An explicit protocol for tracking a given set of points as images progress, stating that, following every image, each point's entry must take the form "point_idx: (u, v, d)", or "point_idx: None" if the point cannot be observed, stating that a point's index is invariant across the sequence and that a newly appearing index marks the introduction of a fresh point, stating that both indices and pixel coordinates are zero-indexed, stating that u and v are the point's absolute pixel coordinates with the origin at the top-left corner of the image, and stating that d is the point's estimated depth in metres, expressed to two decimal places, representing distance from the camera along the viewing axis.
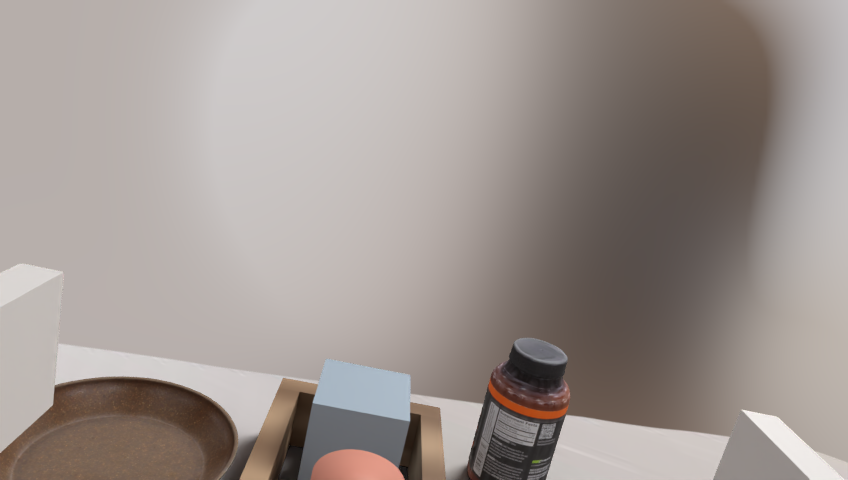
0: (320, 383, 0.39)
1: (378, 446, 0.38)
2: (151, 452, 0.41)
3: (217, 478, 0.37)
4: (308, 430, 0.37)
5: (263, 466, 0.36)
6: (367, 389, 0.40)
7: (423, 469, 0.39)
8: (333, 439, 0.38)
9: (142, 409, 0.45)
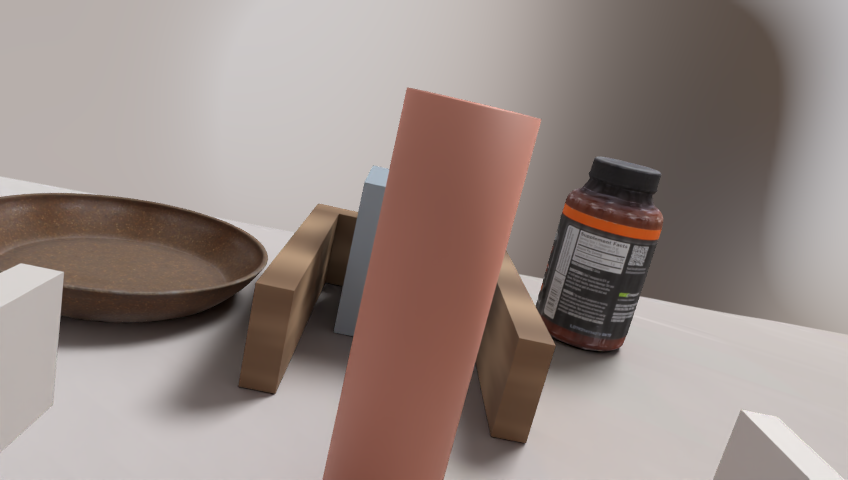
0: (370, 175, 0.32)
1: None
2: (162, 269, 0.34)
3: (245, 277, 0.30)
4: (358, 219, 0.30)
5: (304, 252, 0.29)
6: None
7: None
8: None
9: (151, 235, 0.38)
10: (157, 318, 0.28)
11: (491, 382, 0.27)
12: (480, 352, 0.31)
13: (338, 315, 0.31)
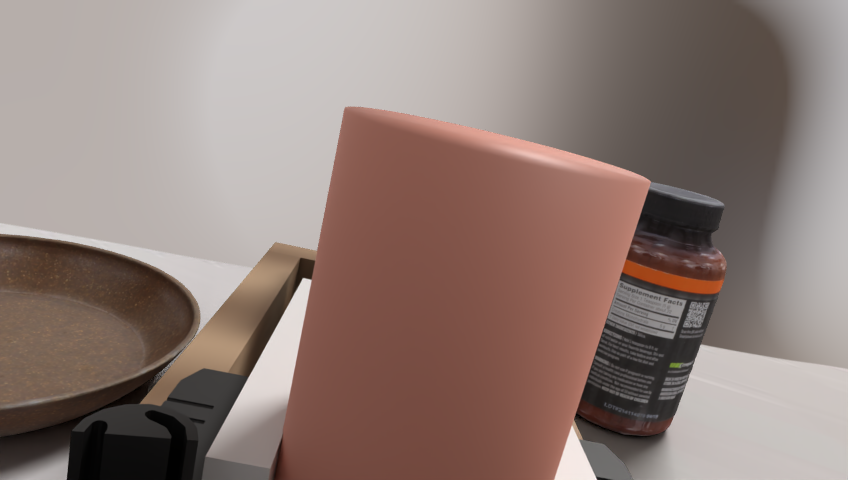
0: None
1: None
2: (56, 338, 0.25)
3: (157, 363, 0.21)
4: None
5: (234, 333, 0.20)
6: None
7: None
8: None
9: (55, 285, 0.29)
10: (19, 432, 0.19)
11: None
12: None
13: None
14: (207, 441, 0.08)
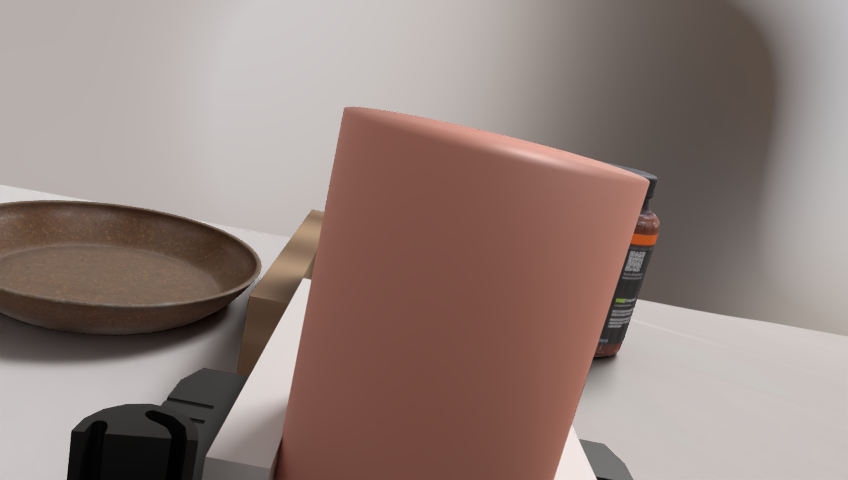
0: None
1: None
2: (153, 277, 0.34)
3: (239, 287, 0.30)
4: None
5: (298, 262, 0.28)
6: None
7: None
8: None
9: (142, 242, 0.37)
10: (150, 330, 0.28)
11: None
12: None
13: None
14: (207, 441, 0.08)
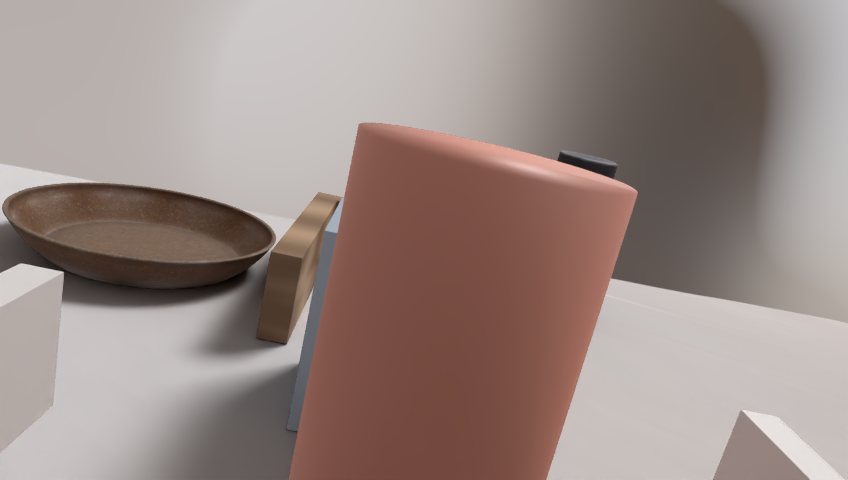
0: (335, 215, 0.24)
1: None
2: (183, 247, 0.39)
3: (259, 252, 0.35)
4: (317, 281, 0.22)
5: (309, 230, 0.34)
6: None
7: None
8: None
9: (171, 220, 0.43)
10: (186, 285, 0.33)
11: None
12: None
13: (292, 407, 0.23)
14: None
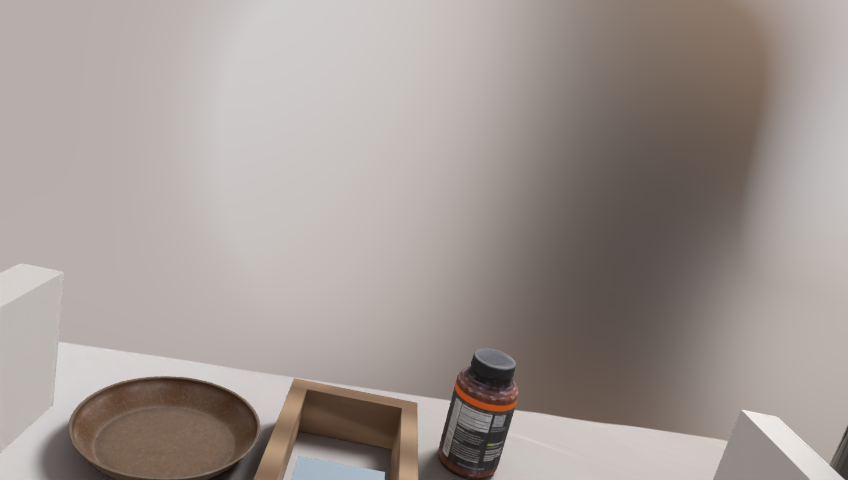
0: None
1: None
2: (192, 434, 0.54)
3: (247, 451, 0.50)
4: None
5: (281, 443, 0.48)
6: None
7: (401, 448, 0.51)
8: None
9: (183, 402, 0.57)
10: None
11: None
12: None
13: None
14: None
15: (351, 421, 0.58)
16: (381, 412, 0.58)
